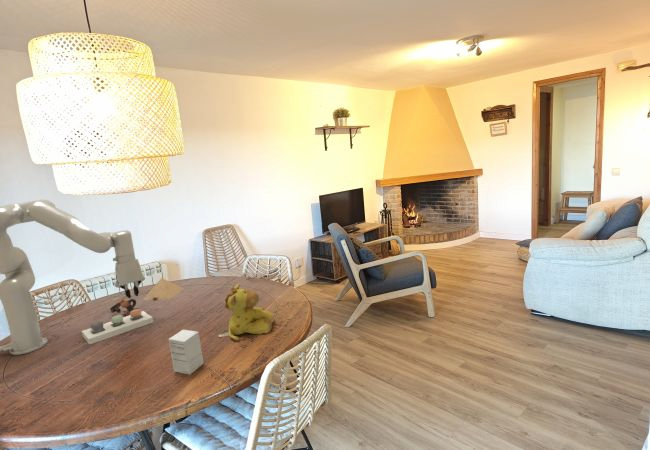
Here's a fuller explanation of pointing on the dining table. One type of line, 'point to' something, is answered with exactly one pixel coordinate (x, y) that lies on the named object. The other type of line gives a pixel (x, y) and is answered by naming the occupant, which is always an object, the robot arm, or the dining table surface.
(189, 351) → the supplement box
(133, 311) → the button terracotta
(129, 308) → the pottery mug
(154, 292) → the model pyramid
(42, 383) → the dining table surface
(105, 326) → the panel
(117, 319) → the button sage
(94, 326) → the button charcoal
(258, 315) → the giraffe plush
